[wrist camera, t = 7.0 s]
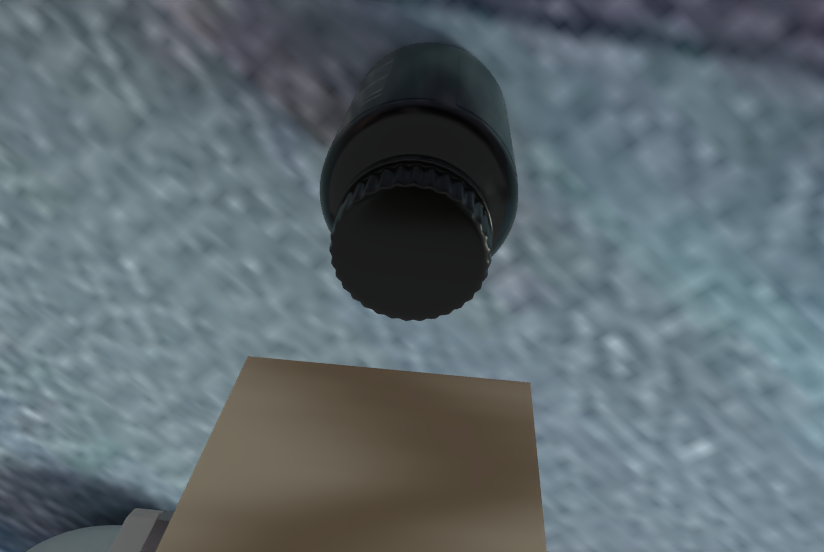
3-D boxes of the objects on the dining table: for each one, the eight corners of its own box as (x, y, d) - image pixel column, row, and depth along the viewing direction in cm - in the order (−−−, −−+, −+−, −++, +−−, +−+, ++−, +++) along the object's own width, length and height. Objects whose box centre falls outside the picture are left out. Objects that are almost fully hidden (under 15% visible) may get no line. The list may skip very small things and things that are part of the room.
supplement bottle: (383, 201, 31) (336, 363, 21) (334, 63, 27) (250, 178, 17) (522, 168, 29) (544, 327, 19) (490, 18, 26) (496, 117, 16)
